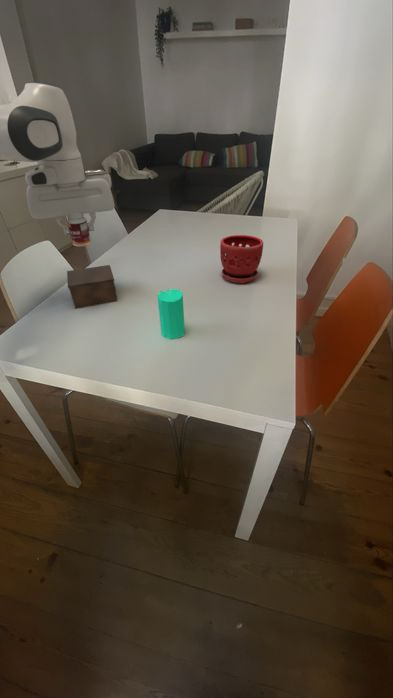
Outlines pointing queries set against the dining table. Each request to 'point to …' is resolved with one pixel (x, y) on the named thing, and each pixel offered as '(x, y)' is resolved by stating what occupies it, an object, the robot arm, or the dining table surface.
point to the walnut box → (91, 286)
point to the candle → (171, 313)
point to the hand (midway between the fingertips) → (79, 232)
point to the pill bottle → (78, 229)
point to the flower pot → (240, 257)
